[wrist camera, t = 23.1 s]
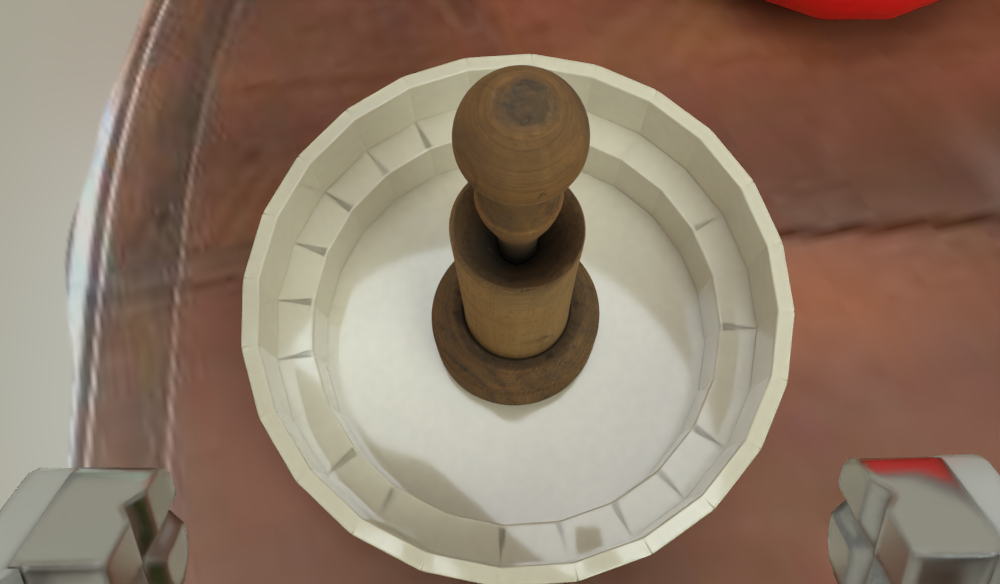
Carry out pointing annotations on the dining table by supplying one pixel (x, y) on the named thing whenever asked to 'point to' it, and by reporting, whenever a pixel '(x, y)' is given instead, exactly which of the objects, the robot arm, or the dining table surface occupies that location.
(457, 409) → the bowl
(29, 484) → the robot arm
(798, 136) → the dining table surface
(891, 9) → the teapot
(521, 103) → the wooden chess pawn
